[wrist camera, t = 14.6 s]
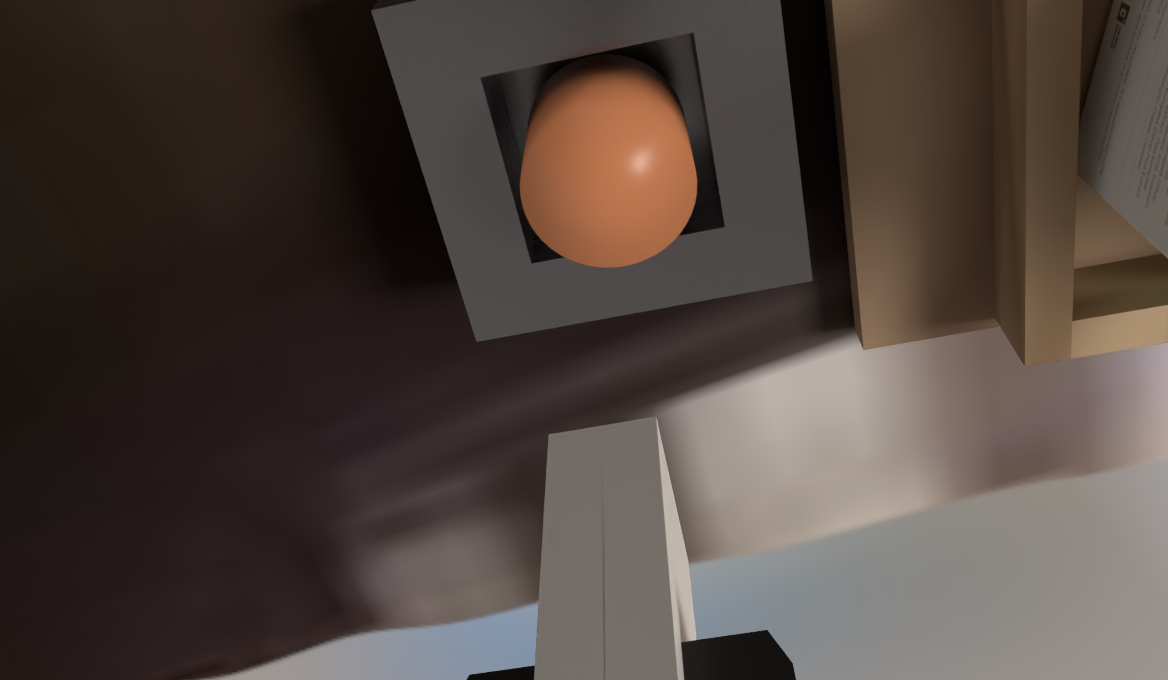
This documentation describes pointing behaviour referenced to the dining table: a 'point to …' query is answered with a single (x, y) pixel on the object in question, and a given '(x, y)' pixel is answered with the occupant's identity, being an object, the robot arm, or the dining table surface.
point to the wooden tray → (982, 179)
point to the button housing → (498, 133)
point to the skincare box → (1130, 118)
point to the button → (607, 162)
